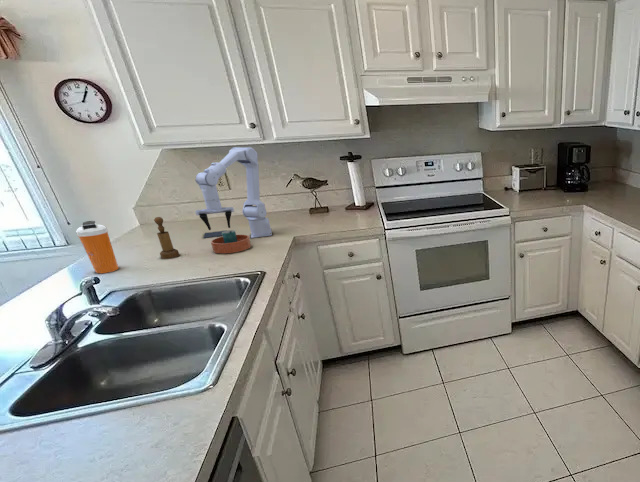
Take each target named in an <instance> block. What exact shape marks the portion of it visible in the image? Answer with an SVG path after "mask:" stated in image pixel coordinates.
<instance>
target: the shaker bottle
mask: <svg viewBox="0 0 640 482" xmlns="http://www.w3.org/2000/svg"><path fill="white" fill-rule="evenodd" d="M108 232H109V230H108V228H107V226H105V225H104V224H97V222H96V221H95V220H85V221H83V222H82V224H81V225H80V226H79V227H78V228H77V229H76V230H75V233H76V236H77V237H78V239H79V241H80V242H81V244H82V246H83V249H84V250H85V253H86V255H87V257H88V259H89V262H90V264H91V266H92V267H93V270H94V272H95V274H107V273H112V272H115V271H117V270H119V268H120V267H119V264H118V262H117V258H116V254H115V252H114V249H113V245H112V241H111V239H110V236H109V233H108Z"/></svg>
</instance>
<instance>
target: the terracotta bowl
mask: <svg viewBox="0 0 640 482" xmlns="http://www.w3.org/2000/svg"><path fill="white" fill-rule="evenodd" d="M236 236H237V240H238V242H233V243H224V240H223V236H219V237H215V238H212V240H210V246H211V248H212V253H213V252H214V253H216V254H234V253H239V252H243V251H246V250H249V249H250V248H252V243H251V239H250V238H251V237H250V235H248V234H236Z"/></svg>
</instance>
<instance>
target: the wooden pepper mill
mask: <svg viewBox="0 0 640 482" xmlns="http://www.w3.org/2000/svg"><path fill="white" fill-rule="evenodd" d="M153 220H154V223H155V224H156V225H157V226H158V227H157V229H158V231H159V232H157V233H156V235H157V238H158V241H159V243H160V247H161V251H160V252H159V255H160V258H161V259H162V260H169V259H175V258H178V257H180V252H179V250H178V249H176V248H174V245H173V242H172V240H171V237H170V233H169V231H166V230H165V226H163V224H164V219H163V218H162V217H161V216H156V217H154V219H153Z"/></svg>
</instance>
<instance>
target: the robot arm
mask: <svg viewBox="0 0 640 482" xmlns="http://www.w3.org/2000/svg"><path fill="white" fill-rule="evenodd" d="M228 150H229V151H228V153H227V154H226V155H225V156H224V157H223V158H222V159H221V160H220V161H218V162H217V161H216V162H215V161H214V162H211V163H210V166H209V167H207V168H205V169H204V170H203V171H202V172H198V173H197V174H196V176H195V179H194V180H195V183H196V184H197V185H198V186H199V189H200V190H201V194H202V197H203V200H204V203H205V207H206V208H204V209H197V210H196V209H195V215H196V216H199V218H200V220H201V221H202V222H203V223H204V224H205V226H206V227H207V229H208V231H211V230H212V227H211V225H210V221H209V218H208V215H211V214H222V213H224V216H225V219H226V222H227V223H226V224H227V228H228V229H230V228H231V217H232V213H234V212H235V209H234V206H228V207H227V206H226V207H223V206H222V204H221V200H220V196H219V192H218V189H217V185H218V183H219V179H220V178H221V177H223V176H224V175H225V174H226V173H227V168H229V167H230V166H232V165H233V164H234V163H235V162H237V163H239V164H241V165H243V167H245V172H246V173H245V175H246V176H245V177H246V200H245V201H244V202H243V207H242V211H241V213H242V215H243V216H244V218H246V220H247V222H248V225H249V229H250V238H251V239H256V238H262V237H263V238H264V237H270V236H273V234H272V231H273V230H272V228H271V224H270V219H269V217H267V209H266V204H265V203H264V202H263V201H262V200H261V195H260V193H261V192H260V167H259V161H258V151H256V150H255V149H254V148H253V147H250V146H249V147H248V146H247V147H241V146H240V147H239V146H234V147H232V148H231V149H228ZM270 233H271V234H270Z"/></svg>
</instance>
